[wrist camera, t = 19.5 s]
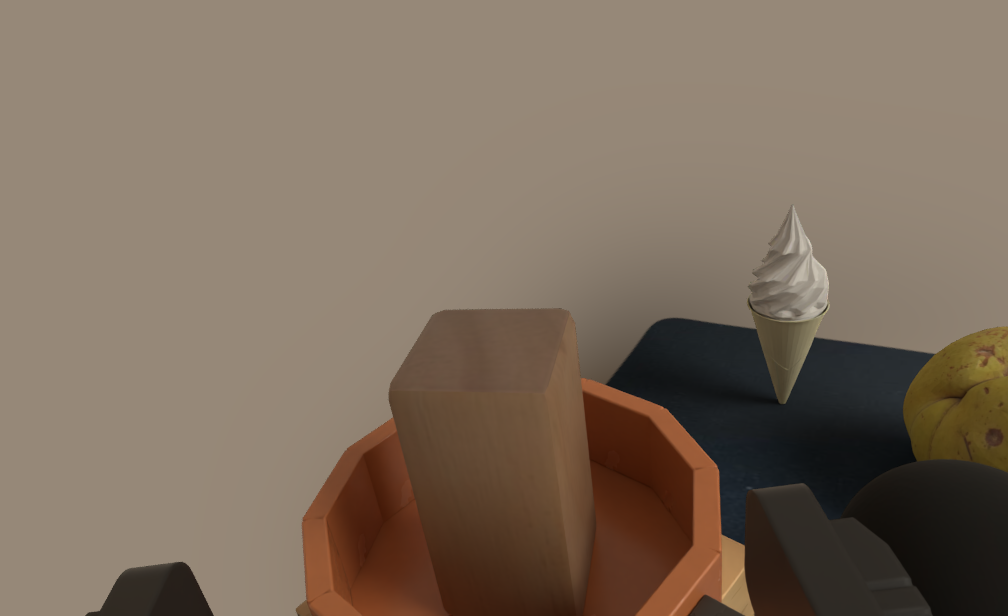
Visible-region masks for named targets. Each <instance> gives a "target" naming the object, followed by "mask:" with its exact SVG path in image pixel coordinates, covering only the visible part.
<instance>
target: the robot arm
mask: <svg viewBox="0 0 1008 616" xmlns="http://www.w3.org/2000/svg"><path fill="white" fill-rule="evenodd" d="M744 569H745V578H746V584H747V589H748V594H749V598H750V601H751V605H752V608H753V611H754V613H755V616H933V615H932V613H931V608H930V607H929V605H928V604H927V602H926V601H925V599H924V598H923V596H922V595H921V593H920V592H919V590H918V589H917V587H916V586H913V585H912V582H911V578H910V577H909V575H908V574H907V572H906V571H905V569H904V568H903V566H902V565H901V563H900V562H899V560H898V559H897V557H896V556H895V554H894V553H893V551H892V550H891V548H890V547H889V545H888V544H887V543H886V542H884V541H883V540H882V539H880V538H879V537H878V536H877V535H875V534H874V533H873V532H871V531H870V530H869V529H868V528H866V527H865V526H864V525H862V524H861V523H860V522H859V521H857V520H856V519H855V518H853V517H850V518H842V519H834V520H828V518H827V516H826V515H825V513H824V511H823V510H822V508H821V506H820V505H819V503H818V501H817V499H816V498H815V496H814V494H813V493H812V491H811V490H810V489H809V487H808V486H807V485H805V484H803V483H801V484H793V485H785V486H777V487H770V488H762V489H754V490H749V491H748V493H747V497H746V522H745V558H744ZM86 616H214V615H213V613H212V611H211V609H210V608H209V605H208V603H207V601H206V599H205V597H204V595H203V593H202V591H201V589H200V587H199V585H198V583H197V581H196V579H195V577H194V575H193V573H192V571H191V569H190V567H189V566H188V565H187V564H185V563H183V562H176V563H168V564H160V565H153V566H146V567H137V568H130V569H127V570H125V571H124V572H123V573H122V574H121V575H120V576H119V578H118V579H117V581H116V583H115V584H114V586H113V588H112V590H111V592H110V594H109V595H108V597H107V599H106V601H105V603H104V605H103V606H102V608H101V610H100V611H98V612H89V613H88V614H87V615H86Z"/></svg>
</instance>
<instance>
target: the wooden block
mask: <svg viewBox="0 0 1008 616" xmlns="http://www.w3.org/2000/svg"><path fill="white" fill-rule="evenodd" d="M389 403H390V406H391V410H392V414H393V418H394V422H395V425H396V429H397V433H398V437H399V441H400V444H401V448H402V452H403V456H404V460H405V463H406V467H407V471H408V475H409V478H410V482H411V486H412V490H413V494H414V497H415V501H416V505H417V509H418V513H419V516H420V520H421V524H422V528H423V532H424V535H425V539H426V543H427V547H428V550H429V554H430V558H431V562H432V566H433V569H434V573H435V577H436V581H437V585H438V588H439V592H440V596H441V600H442V604H443V607H444V609H445V611H446V612H447V613H449V614H451V615H453V616H582V615H583V611H584V604H585V598H586V591H587V585H588V578H589V572H590V565H591V558H592V552H593V545H594V539H595V532H596V526H597V525H596V515H595V506H594V497H593V487H592V478H591V469H590V459H589V450H588V440H587V431H586V422H585V412H584V403H583V394H582V384H581V375H580V366H579V357H578V347H577V339H576V328H575V323H574V320H573V319H572V317H571V314H570V312H569V311H567V310H564V309H560V308H554V309H475V310H473V309H472V310H443V311H440V312H437V313H435V314H434V315H432V317H431V318H430V320H429V322H428V323H427V325H426V326H425V328H424V330H423V331H422V333H421V334H420V336H419V338H418V339H417V341H416V343H415V344H414V346H413V347H412V349H411V351H410V352H409V354H408V356H407V357H406V359H405V361H404V362H403V364H402V365H401V367H400V369H399V370H398V372H397V374H396V375H395V377H394V378H393V380H392V382H391V384H390V388H389Z"/></svg>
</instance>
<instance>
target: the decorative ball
mask: <svg viewBox="0 0 1008 616" xmlns="http://www.w3.org/2000/svg"><path fill="white" fill-rule="evenodd" d="M850 517H853V518H855V519H856V520H857V521H859V522H860V523H861V524H862V525H864V526H865V527H866V528H868V529H869V530H870V531H871V532H873V533H874V534H875V535H877V536H878V537H879V538H880V539H882V540H883V541H884V542H886V543H887V544H888V545H889V547H890V548H891V550H892V551H893V553H894V554H895V556H896V557H897V559H898V560H899V562H900V563H901V565H902V566H903V568H904V569H905V571H906V572H907V574H908V575H909V577H910V578H911V582H912V585H913V586H916V587H917V589H918V590H919V592H920V593H921V595H922V596H923V598H924V599H925V601H926V602H927V604H928V605H929V607H930V608H931V613H932V615H933V616H1008V472H1005V471H1003V470H1000V469H997V468H994V467H991V466H988V465H984V464H980V463H976V462H970V461H964V460H954V459H933V460H924V461H918V462H913V463H909V464H905V465H902V466H899V467H897V468H894V469H891V470H889V471H887V472H885V473H883V474H881V475H880V476H878V477H876V478H875V479H873V480H872V481H871V482H869V483H868V484H867V485H865V486H864V487H863V488H862V489H861V490H860V491H859V492H858V493H857V494H856V495H855V496H854V497H853V499H852V500H851V501H850V503H849V504H848V505H847V507H846V509H845V510H844V512H843V514H842V516H841V518H840V519H842V518H850Z"/></svg>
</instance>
